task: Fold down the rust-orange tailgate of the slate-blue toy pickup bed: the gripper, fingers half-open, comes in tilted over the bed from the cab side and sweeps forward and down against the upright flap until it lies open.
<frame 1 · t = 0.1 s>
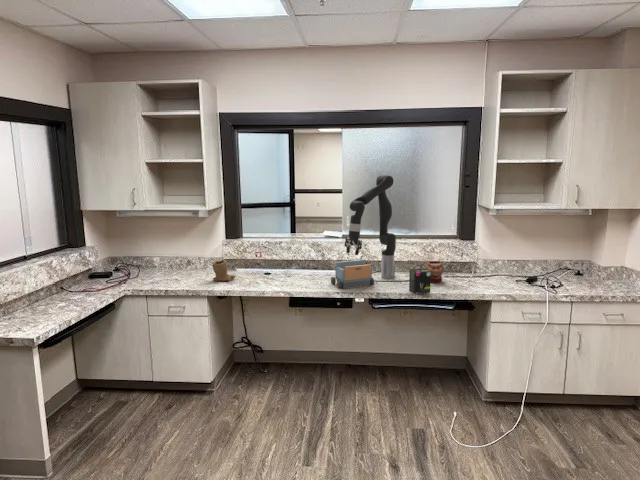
hand: (352, 254, 283), 22 cm above the worktop, tool pointing down, fingers open, 8 cm apart
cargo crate: (361, 276, 288), point 6 cm above the worktop, touching pickup bed
decorative planter: (434, 281, 297), on the worktop
pickup bed: (353, 284, 289), on the worktop
tampon box: (419, 292, 272), on the worktop
brown boot: (223, 280, 305), on the worktop
tailgate: (358, 272, 281), point 11 cm above the worktop, hinge at 1.4°
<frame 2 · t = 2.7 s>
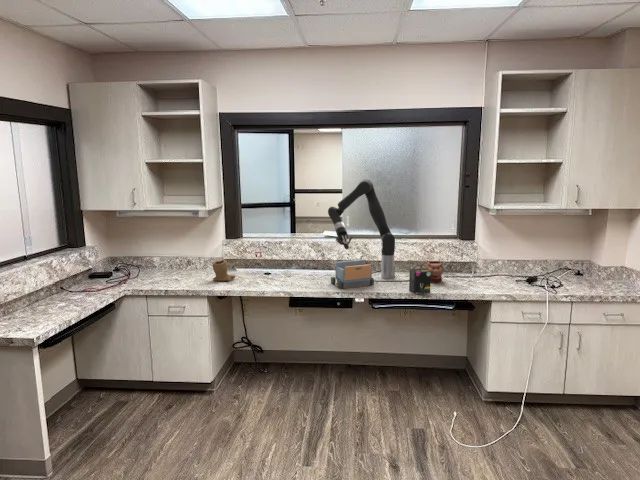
hand: (347, 248, 295), 24 cm above the worktop, tool tilted 45°, fingers closed
nothing on the worktop moved.
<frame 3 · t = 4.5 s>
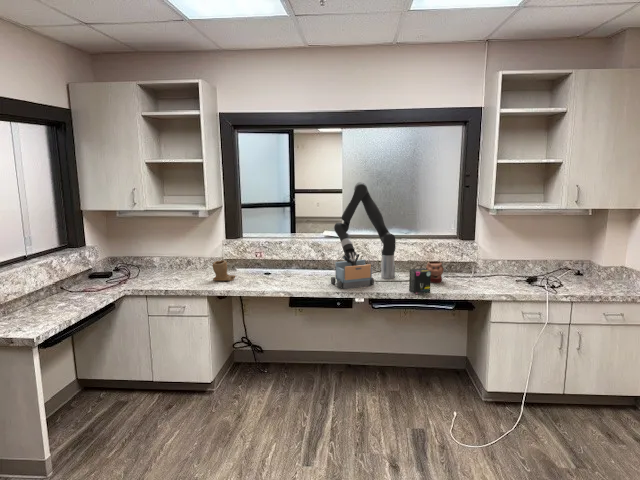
hand: (354, 266, 285), 13 cm above the worktop, tool tilted 45°, fingers closed
nothing on the worktop moved.
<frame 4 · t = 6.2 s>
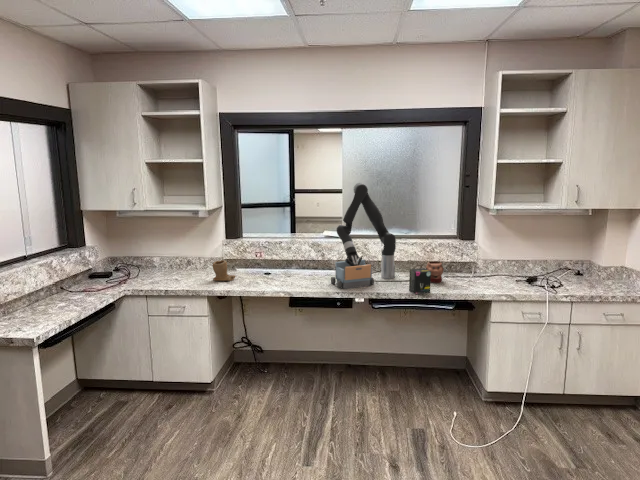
hand: (357, 270, 281), 12 cm above the worktop, tool tilted 45°, fingers closed
tailgate: (358, 272, 280), point 11 cm above the worktop, hinge at 5.0°, touching gripper
everything else where it was.
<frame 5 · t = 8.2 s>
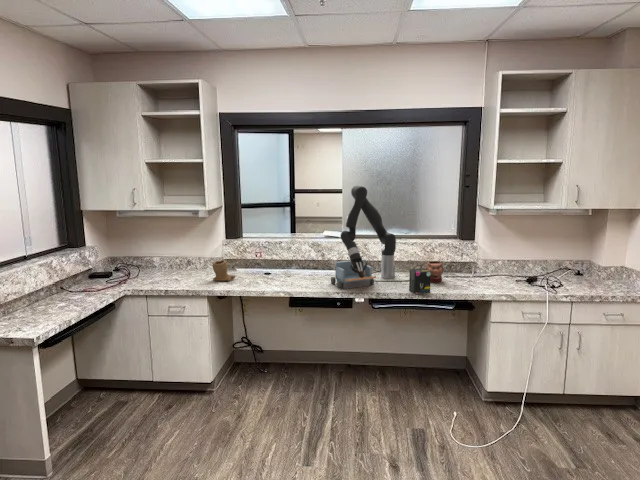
hand: (362, 277, 275), 9 cm above the worktop, tool tilted 45°, fingers closed
tailgate: (360, 279, 277), point 7 cm above the worktop, hinge at 74.1°, touching gripper
everything else where it was.
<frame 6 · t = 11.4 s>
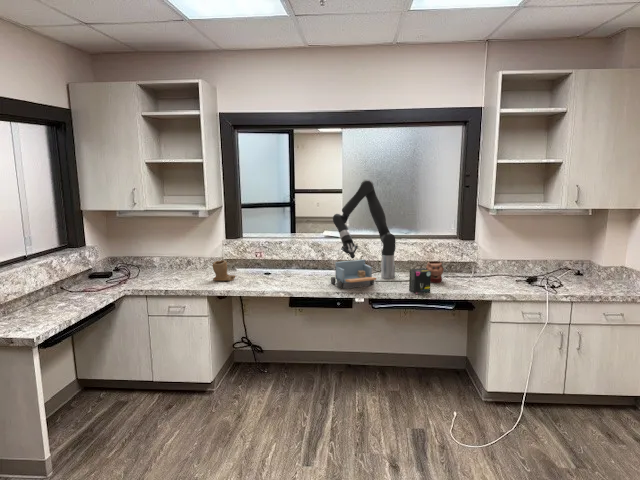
hand: (353, 257, 287), 19 cm above the worktop, tool tilted 45°, fingers closed
tailgate: (360, 280, 277), point 6 cm above the worktop, hinge at 80.8°
everything else where it was.
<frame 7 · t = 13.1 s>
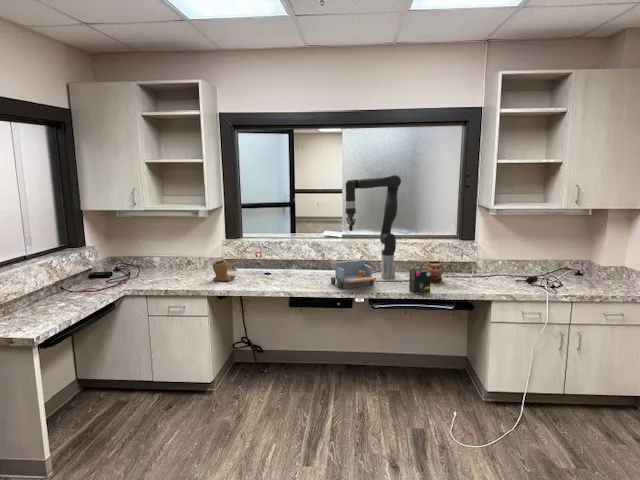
hand: (350, 230, 307), 35 cm above the worktop, tool pointing down, fingers closed
nothing on the worktop moved.
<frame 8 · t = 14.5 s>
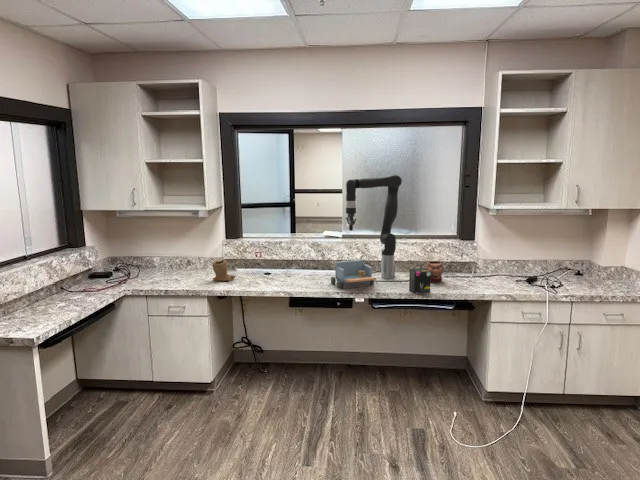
hand: (350, 230, 306), 35 cm above the worktop, tool pointing down, fingers closed
nothing on the worktop moved.
at the end: tailgate at +81° (first picture: +1°) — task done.
